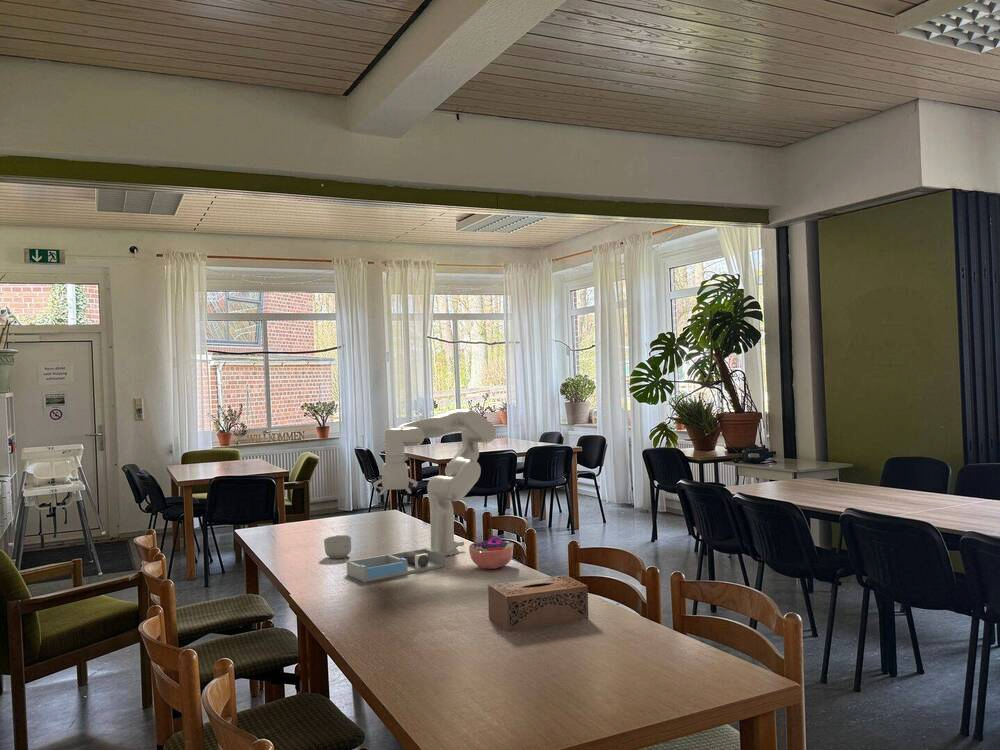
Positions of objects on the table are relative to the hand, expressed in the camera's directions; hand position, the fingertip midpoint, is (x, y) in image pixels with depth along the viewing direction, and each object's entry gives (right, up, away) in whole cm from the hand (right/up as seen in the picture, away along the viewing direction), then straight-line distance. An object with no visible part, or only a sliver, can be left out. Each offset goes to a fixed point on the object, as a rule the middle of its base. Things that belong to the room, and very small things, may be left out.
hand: (395, 504), depth 310 cm
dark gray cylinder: (+9, -20, -7) cm, 23 cm away
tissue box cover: (+52, -22, -74) cm, 93 cm away
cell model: (+38, -23, -10) cm, 45 cm away
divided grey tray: (+2, -23, -12) cm, 26 cm away
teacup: (-25, -24, +15) cm, 38 cm away
